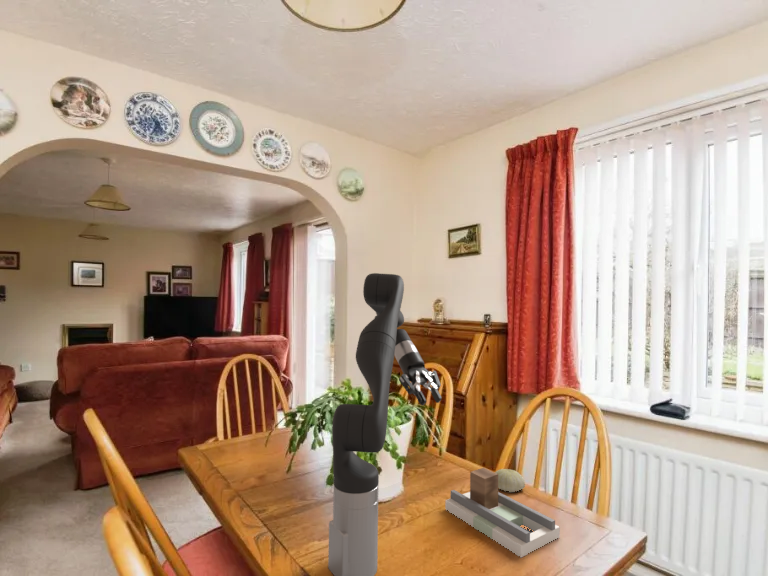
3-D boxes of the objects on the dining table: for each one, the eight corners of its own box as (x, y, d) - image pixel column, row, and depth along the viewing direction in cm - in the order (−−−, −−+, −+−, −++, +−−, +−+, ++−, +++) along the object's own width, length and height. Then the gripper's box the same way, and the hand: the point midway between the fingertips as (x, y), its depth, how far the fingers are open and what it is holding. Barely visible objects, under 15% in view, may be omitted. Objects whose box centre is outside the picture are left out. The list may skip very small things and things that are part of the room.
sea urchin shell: (494, 471, 130) (512, 456, 127) (512, 493, 127) (531, 479, 124) (485, 482, 122) (504, 466, 119) (504, 506, 119) (524, 491, 116)
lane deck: (520, 557, 89) (521, 536, 89) (445, 509, 109) (445, 492, 109) (559, 537, 97) (559, 518, 97) (482, 496, 117) (482, 480, 117)
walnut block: (484, 511, 104) (484, 478, 104) (470, 502, 108) (470, 471, 108) (498, 505, 107) (498, 474, 107) (483, 497, 111) (483, 467, 111)
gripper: (395, 351, 130) (418, 398, 119) (430, 349, 138) (455, 392, 127) (385, 366, 134) (407, 412, 124) (420, 363, 142) (443, 406, 132)
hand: (431, 402), depth 126 cm, fingers open, 5 cm apart
